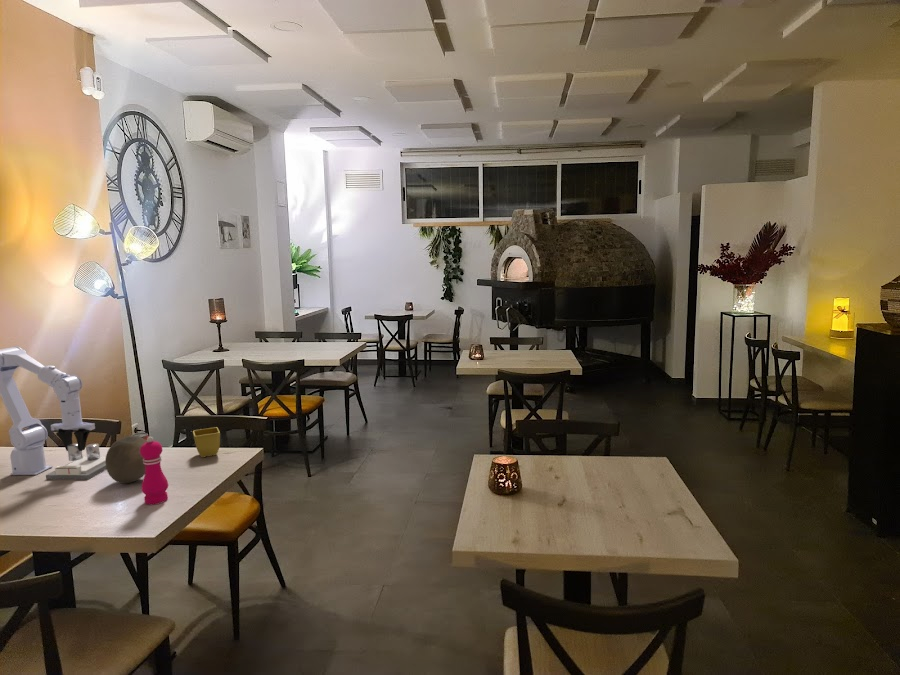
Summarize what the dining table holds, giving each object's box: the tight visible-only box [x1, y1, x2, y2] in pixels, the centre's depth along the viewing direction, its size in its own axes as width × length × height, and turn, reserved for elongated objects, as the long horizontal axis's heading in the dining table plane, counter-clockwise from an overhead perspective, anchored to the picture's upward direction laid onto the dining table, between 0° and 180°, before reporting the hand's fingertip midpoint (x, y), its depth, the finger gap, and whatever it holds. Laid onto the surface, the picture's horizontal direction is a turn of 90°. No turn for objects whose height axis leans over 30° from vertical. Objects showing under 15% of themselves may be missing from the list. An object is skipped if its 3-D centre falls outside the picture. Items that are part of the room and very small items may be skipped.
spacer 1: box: [67, 442, 84, 462], centre depth 203 cm, size 4×4×5 cm
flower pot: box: [192, 426, 221, 458], centre depth 220 cm, size 9×9×9 cm
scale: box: [45, 456, 107, 480], centre depth 208 cm, size 15×17×4 cm
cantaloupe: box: [105, 435, 147, 484], centre depth 195 cm, size 14×14×15 cm
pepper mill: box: [140, 436, 169, 505], centre depth 179 cm, size 7×7×20 cm
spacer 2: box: [85, 443, 101, 461], centre depth 212 cm, size 4×4×5 cm
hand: (75, 450), depth 204 cm, fingers closed on spacer 1, 4 cm apart
